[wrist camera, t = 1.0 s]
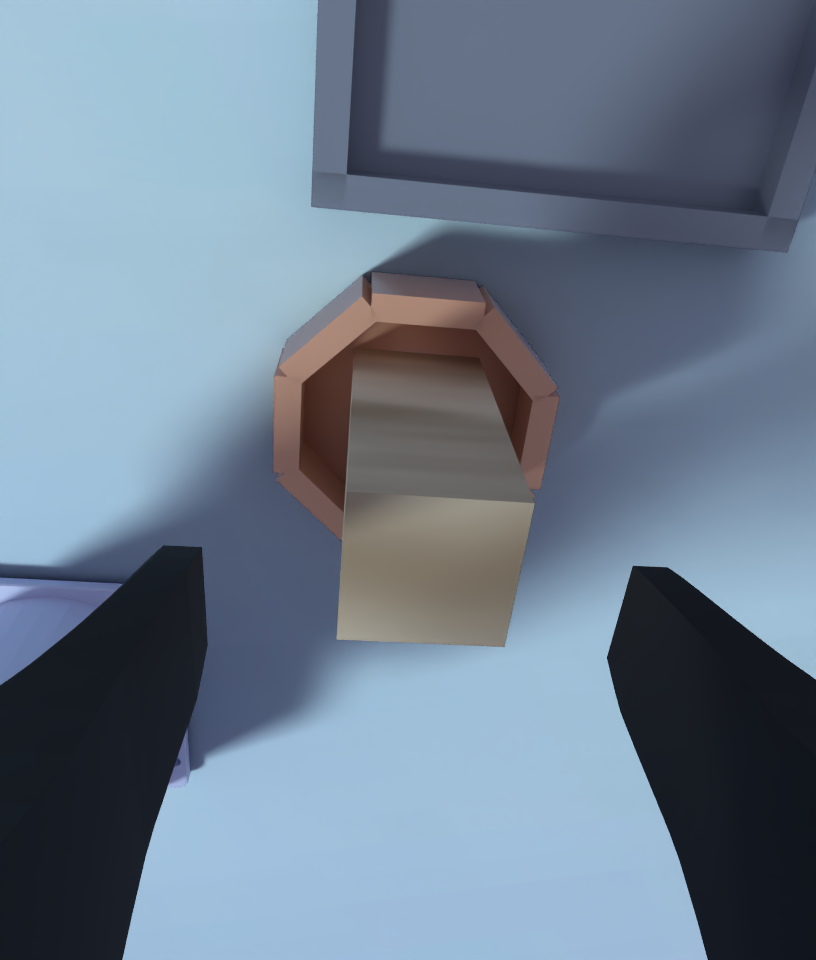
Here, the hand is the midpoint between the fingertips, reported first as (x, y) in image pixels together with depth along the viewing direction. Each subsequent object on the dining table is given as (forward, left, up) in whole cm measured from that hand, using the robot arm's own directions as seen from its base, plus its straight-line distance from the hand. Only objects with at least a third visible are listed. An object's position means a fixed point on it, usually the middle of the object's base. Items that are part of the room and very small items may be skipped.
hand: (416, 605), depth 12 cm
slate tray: (+9, -4, -10) cm, 14 cm away
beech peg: (-1, -1, -10) cm, 10 cm away
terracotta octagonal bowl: (-1, 0, -10) cm, 10 cm away
